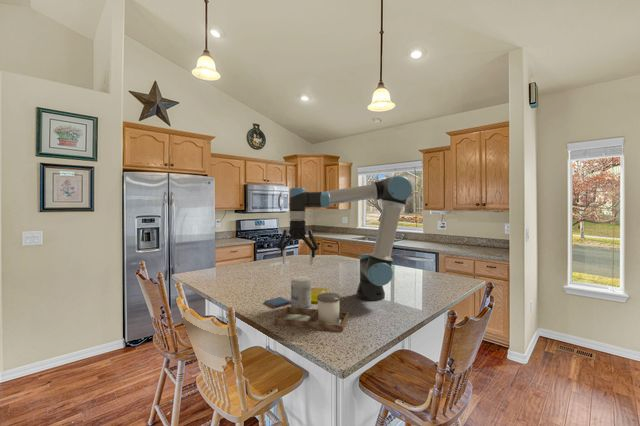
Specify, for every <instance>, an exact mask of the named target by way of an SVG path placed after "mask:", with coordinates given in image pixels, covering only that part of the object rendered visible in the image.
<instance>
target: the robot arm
mask: <svg viewBox="0 0 640 426" xmlns="http://www.w3.org/2000/svg"><path fill="white" fill-rule="evenodd" d="M409 179H410V178H409ZM409 179H408V178H407V177H406V176H404V175H395V176H390V177H387V178H385V179H382V180H378V181H374V182H371V184H364V185H360V186H359V185H358V186H353V187H345V188H339V189H332V190H326V191H306V188H305V187H291V188H290V189H289V197H288V198H289V219H290V221H289V229H283V233H282V235H281V238H280V240H279V243H278V244H277V246H276V248H277V249H278V250H280V256H281V257H282V264H283V265H284V264H285V265H286V264H287V249H286V248H287V246H288V245H289V244H290V243H291V241H293V240H302V241H303V242H304V243H305V245H306V246H308V248H309V250H310V251H309V265H310V266H312V265H313V264H314V258H315V257H316V251H318V250H319V246H318V244H317V241H316V240H315V236H314V235H313V230H312V229H308V230H306V208H314V209H315V208H321V209H322V208H323V209H324V208H330V206H331V205H339V204H345V203H346V204H347V203H351V202H352V203H353V202H359V201H365V200H372V199H373V200H375V201H378V200H381V202H382V204H383V207H382V211H381V215H380V221H379V224H378V225H379V226H378V229H377V234H376V238H375V243H374V247H373V251H372V252H370V253H362V254H360V255H359V283H358V285H357V288H356V292H355V293H356V294H355V295H356V297H357V298H358V299H361V300H365V301H380V300H381V301H382V300H383V299H385V297H386V293H385V289H384V286H386V285H388V284H389V283H390V282H391V281H392V279H393V275H394V272H393V268H392V266H393V261H394V259H393V258H392V251H393V247H394V242H395V238H396V235H397V230H398V224H399V220H400V216H401V211H402V208H404V207H405V206H406V205H407V200H408V198H410V196H411V195H412V193H413V185H412V183H411V181H410V180H409ZM288 234H289V235H290V236H288ZM306 234H307V235H308V238H309V239H310V241H309V239H308V238H307V236H306ZM287 236H288V239H287V240H286V238H287ZM285 240H286V241H285ZM284 242H285V243H284Z"/></svg>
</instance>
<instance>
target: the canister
mask: <svg viewBox="0 0 640 426" xmlns="http://www.w3.org/2000/svg"><path fill="white" fill-rule="evenodd" d="M317 299H318V304H317V309H318V316H317V319H318V322H319V323H328V324H339V319H340V317H339V312H340V301H341V295H340V294H337V293H335V292H328V293H322V294H319V295H318V296H317Z"/></svg>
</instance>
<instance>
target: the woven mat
mask: <svg viewBox="0 0 640 426" xmlns="http://www.w3.org/2000/svg"><path fill="white" fill-rule="evenodd" d="M263 304H265V305H266V306H269V307H271V308H273V309H278V308H281V307H285V306H288V305H291V299H290V300H289V299H286V298H284V297H281V296H279V297H275V298H272V299H271V298H270V299H267V300H264V303H263ZM277 307H278V308H277Z"/></svg>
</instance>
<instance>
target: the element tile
mask: <svg viewBox="0 0 640 426" xmlns="http://www.w3.org/2000/svg"><path fill="white" fill-rule="evenodd" d="M322 293H329V289H328V288H321V287H318V288H317V287H311V305H318V299H317V296H318V295H319V294H322Z"/></svg>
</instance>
